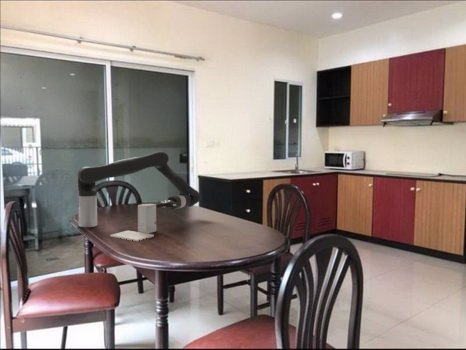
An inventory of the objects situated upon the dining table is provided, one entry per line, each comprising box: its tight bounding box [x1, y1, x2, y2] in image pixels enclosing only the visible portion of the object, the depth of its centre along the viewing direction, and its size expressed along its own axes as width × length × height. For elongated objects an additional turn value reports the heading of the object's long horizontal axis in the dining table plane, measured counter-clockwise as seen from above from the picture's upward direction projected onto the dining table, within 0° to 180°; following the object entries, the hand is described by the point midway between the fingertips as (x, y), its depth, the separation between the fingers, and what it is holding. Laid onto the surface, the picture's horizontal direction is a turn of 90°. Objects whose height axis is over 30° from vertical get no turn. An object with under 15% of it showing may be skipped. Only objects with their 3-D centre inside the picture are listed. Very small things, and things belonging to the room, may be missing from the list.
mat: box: [109, 230, 155, 242], centre depth 189 cm, size 18×12×1 cm, turn 61°
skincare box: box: [137, 203, 157, 234], centre depth 198 cm, size 8×6×15 cm
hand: (156, 205), depth 204 cm, fingers closed
